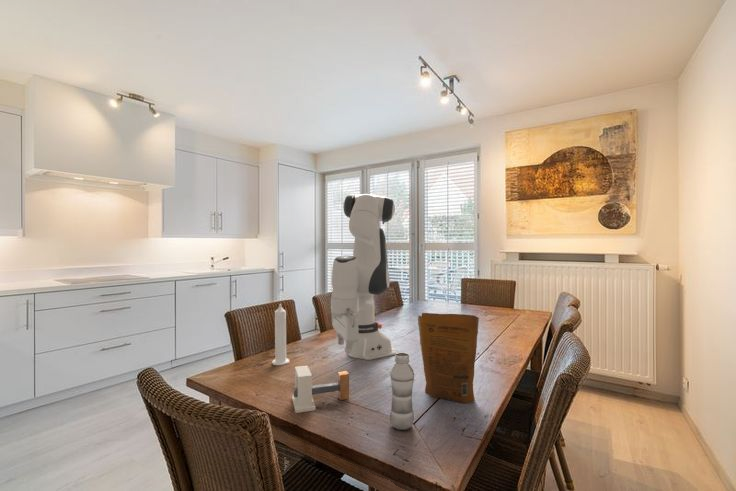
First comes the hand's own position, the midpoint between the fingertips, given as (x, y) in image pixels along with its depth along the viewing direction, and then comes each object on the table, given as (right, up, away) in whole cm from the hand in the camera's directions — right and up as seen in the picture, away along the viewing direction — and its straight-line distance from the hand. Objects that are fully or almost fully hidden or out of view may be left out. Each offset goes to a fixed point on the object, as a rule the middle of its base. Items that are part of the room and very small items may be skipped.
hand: (344, 348), depth 113 cm
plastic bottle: (+17, -17, -17) cm, 29 cm away
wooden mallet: (-7, -16, -2) cm, 18 cm away
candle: (-29, -16, +33) cm, 47 cm away
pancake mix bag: (+34, -16, 0) cm, 38 cm away
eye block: (-13, -16, -4) cm, 21 cm away
